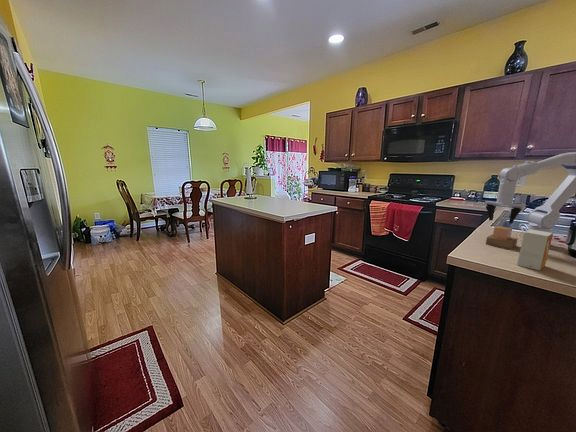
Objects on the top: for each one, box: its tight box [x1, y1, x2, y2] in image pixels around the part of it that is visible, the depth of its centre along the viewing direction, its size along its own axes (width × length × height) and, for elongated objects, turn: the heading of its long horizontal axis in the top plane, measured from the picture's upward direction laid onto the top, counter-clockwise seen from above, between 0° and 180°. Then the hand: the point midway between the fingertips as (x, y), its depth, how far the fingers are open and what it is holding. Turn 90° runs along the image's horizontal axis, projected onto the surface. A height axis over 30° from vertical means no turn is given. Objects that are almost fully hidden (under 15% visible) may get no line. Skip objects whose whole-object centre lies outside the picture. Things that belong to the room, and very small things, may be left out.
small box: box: [516, 229, 554, 271], centre depth 88 cm, size 8×6×13 cm
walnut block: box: [485, 234, 519, 250], centre depth 112 cm, size 9×9×4 cm
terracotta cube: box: [492, 225, 513, 240], centre depth 112 cm, size 5×5×5 cm
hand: (500, 221), depth 115 cm, fingers open, 7 cm apart
